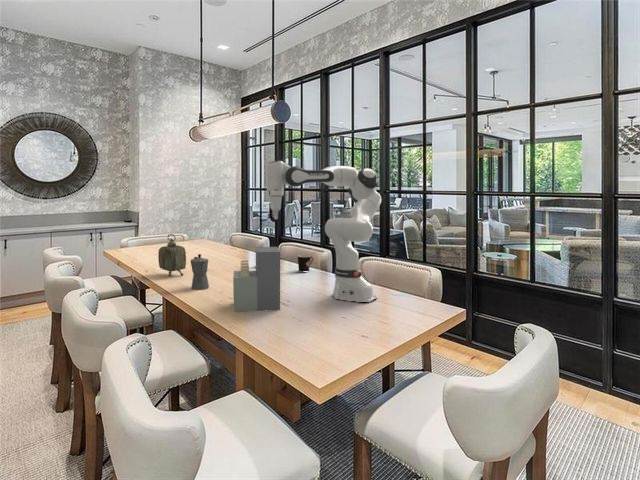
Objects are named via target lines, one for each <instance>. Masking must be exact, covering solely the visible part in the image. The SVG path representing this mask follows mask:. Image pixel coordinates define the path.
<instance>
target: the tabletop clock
mask: <svg viewBox="0 0 640 480" xmlns="http://www.w3.org/2000/svg"><path fill="white" fill-rule="evenodd" d="M170 236H173V237H174V239H173V238H169V237H170ZM167 240H168V241H169V242H167V244H166V245H165V246H161V247H160V248H159V249H158V257H157V258H158V267H159V268H160V269H161V270H164V271H167V272H168V274H167V276H168V277H169V276H170V277H172V273H173V272H176V271H177V272H179V274H180V276H181V277H183V276H184V273H182V271H181V270H185V269H186V266H187V253H186V249H185V247H184V246H182V245H177V243H176V242H175V240H176V235H174V234H172V233H169V234H168V235H167Z"/></svg>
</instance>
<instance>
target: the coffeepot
mask: <svg viewBox="0 0 640 480" xmlns="http://www.w3.org/2000/svg"><path fill="white" fill-rule="evenodd" d="M197 256H198V257H197ZM197 256H194V257H193V258H191V259H190V265H191V271H192V274H193V275H192V283H191V290H195V291H201V290H202V291H203V290H207V289H209V288H210V286H209V279H208V275H207V272H208V267H209V266H208V265H209V258H205V257H202V254H201V253H199V254H197Z"/></svg>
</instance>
